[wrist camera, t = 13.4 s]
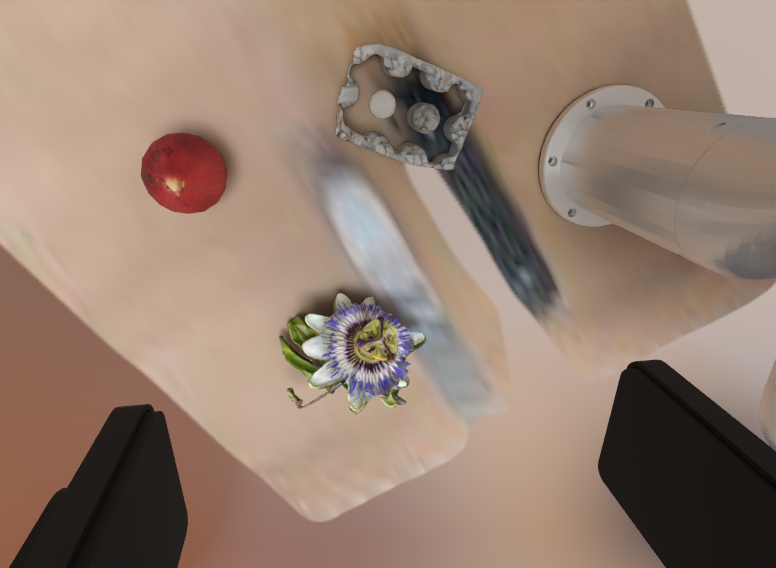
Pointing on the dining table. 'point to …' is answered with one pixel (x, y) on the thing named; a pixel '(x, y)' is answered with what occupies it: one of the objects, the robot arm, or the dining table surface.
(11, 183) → the dining table surface
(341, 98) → the egg carton
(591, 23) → the dining table surface
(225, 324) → the dining table surface
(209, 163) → the onion
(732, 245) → the robot arm
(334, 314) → the passion flower
